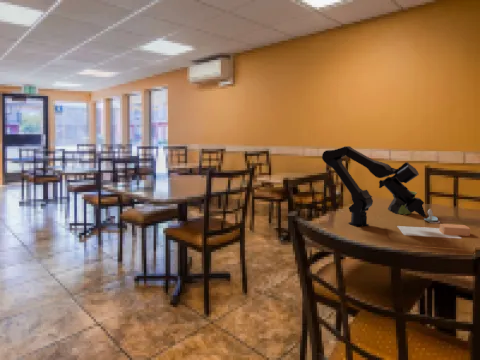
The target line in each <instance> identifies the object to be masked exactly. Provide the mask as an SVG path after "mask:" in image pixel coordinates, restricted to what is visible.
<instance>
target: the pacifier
mask: <svg viewBox="0 0 480 360" xmlns="http://www.w3.org/2000/svg"><path fill="white" fill-rule="evenodd" d="M427 214H428V216H427V218H425V217H423V220H425V221H427V222H428V223H430V224H441V221H440V220H439V219H438V216H434V213H433V210H432V209H431V208H429V209H428V210H427Z"/></svg>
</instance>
